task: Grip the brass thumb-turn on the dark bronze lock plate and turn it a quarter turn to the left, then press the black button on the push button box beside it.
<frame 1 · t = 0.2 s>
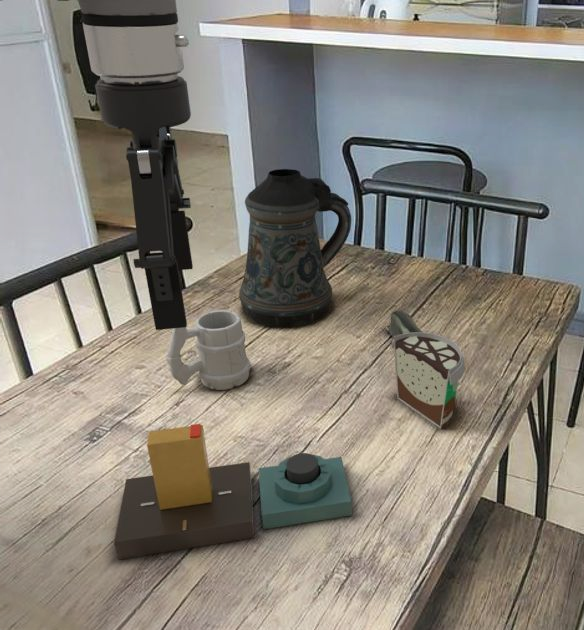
hand: (176, 295, 69), 26 cm above the table, tool pointing down, fingers open, 13 cm apart
mug: (212, 382, 102), on the table
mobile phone: (409, 350, 112), on the table
bell button: (302, 468, 78), point 4 cm above the table, slide at 0.1 cm
lock plate: (189, 515, 78), on the table
beer stein: (294, 306, 125), on the table
push button box: (304, 498, 81), on the table
food container: (434, 406, 98), on the table
lock knob: (181, 466, 74), point 7 cm above the table, hinge at 0.0°
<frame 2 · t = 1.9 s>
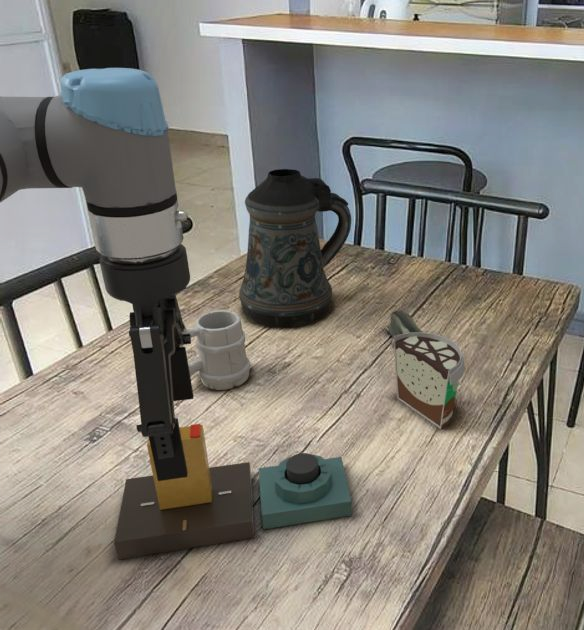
hand: (177, 434, 72), 11 cm above the table, tool pointing down, fingers open, 13 cm apart
nothing on the table moved.
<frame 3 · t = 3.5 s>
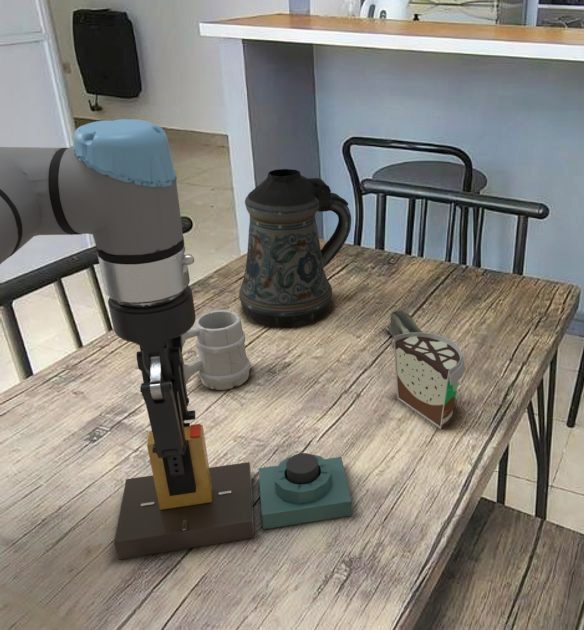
hand: (183, 481, 75), 5 cm above the table, tool pointing down, fingers closed on lock knob, 2 cm apart
lock knob: (181, 466, 74), point 7 cm above the table, hinge at 0.0°, touching gripper
everything else where it was.
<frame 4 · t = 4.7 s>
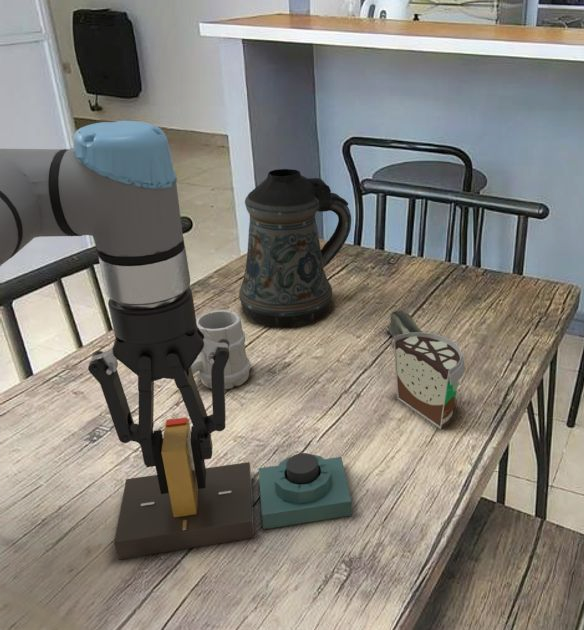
hand: (184, 482, 75), 5 cm above the table, tool pointing down, fingers open, 3 cm apart
lock knob: (181, 466, 74), point 7 cm above the table, hinge at 89.6°
everything else where it was.
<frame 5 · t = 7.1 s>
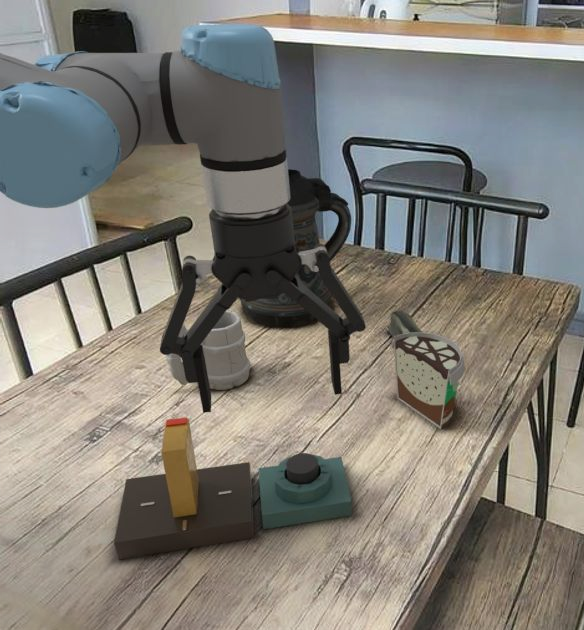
hand: (273, 396, 73), 15 cm above the table, tool pointing down, fingers open, 13 cm apart
nothing on the table moved.
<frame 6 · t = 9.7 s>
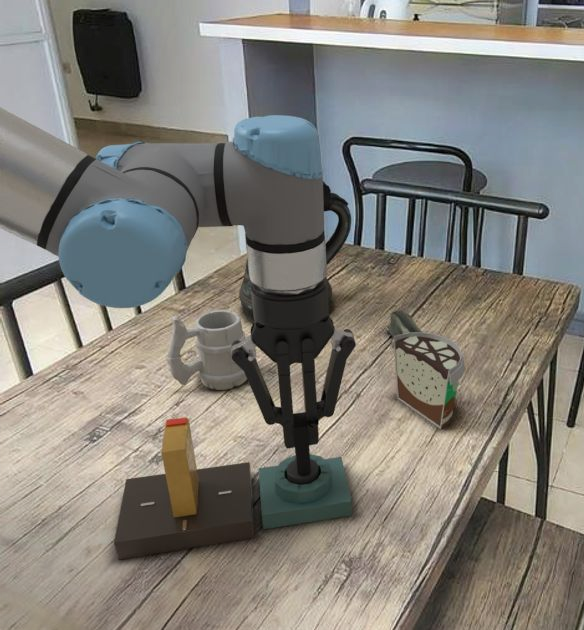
hand: (303, 465, 78), 5 cm above the table, tool pointing down, fingers closed
bell button: (302, 473, 79), point 4 cm above the table, slide at -0.6 cm, touching gripper
everything else where it was.
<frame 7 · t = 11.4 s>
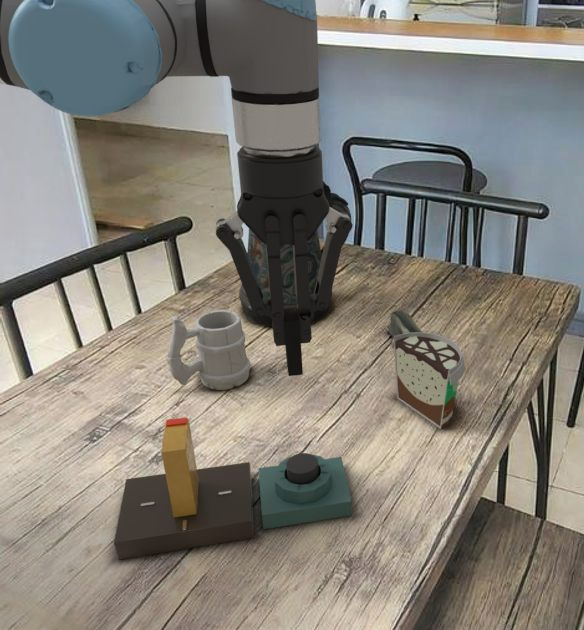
hand: (294, 368, 72), 18 cm above the table, tool pointing down, fingers closed
bell button: (302, 468, 78), point 4 cm above the table, slide at 0.1 cm
everything else where it was.
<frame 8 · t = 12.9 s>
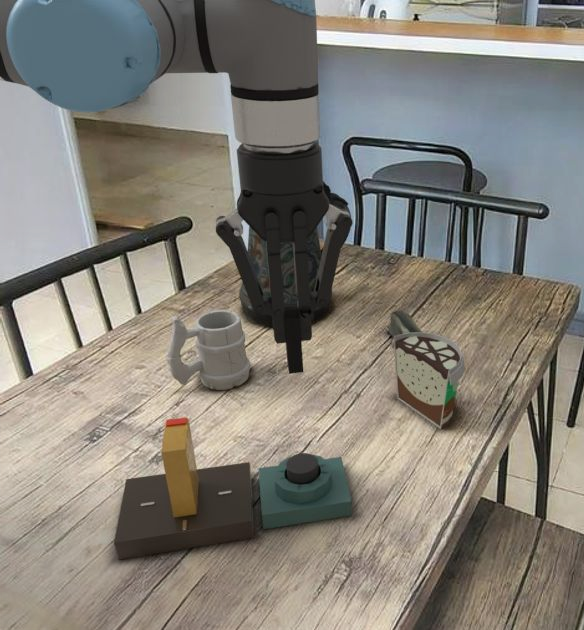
hand: (295, 366, 72), 18 cm above the table, tool pointing down, fingers closed
nothing on the table moved.
at the end: lock knob at +90° (first picture: +0°); bell button pushed in 1.0 cm at the most during the clip, back to where it started at the end; bell button slide at 0.1 cm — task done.
